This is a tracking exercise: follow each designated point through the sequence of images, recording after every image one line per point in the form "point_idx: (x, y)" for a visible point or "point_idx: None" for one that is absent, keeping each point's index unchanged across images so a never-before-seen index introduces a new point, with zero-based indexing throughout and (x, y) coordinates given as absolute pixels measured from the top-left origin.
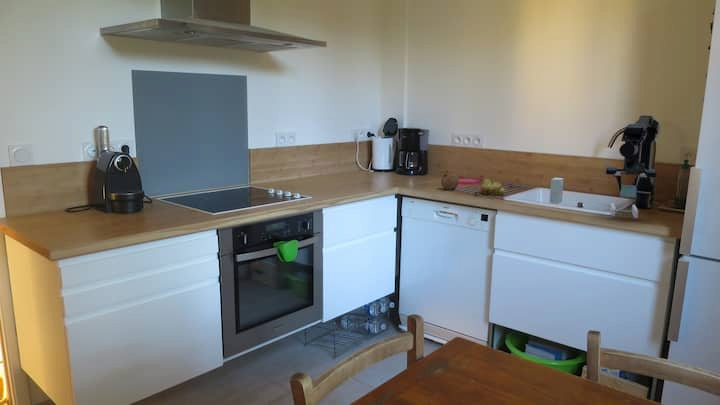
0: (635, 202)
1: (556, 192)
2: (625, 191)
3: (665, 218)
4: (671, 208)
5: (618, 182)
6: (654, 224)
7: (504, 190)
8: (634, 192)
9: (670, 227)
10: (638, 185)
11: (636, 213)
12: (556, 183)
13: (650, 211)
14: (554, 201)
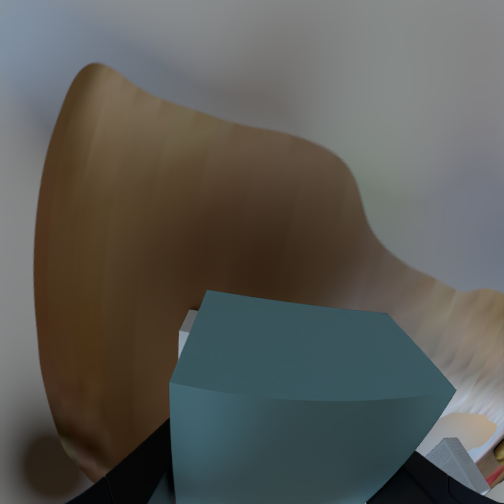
0: (175, 497)
1: (464, 462)
2: (370, 350)
3: (67, 336)
4: (78, 461)
5: (461, 486)
6: (125, 163)
7: (501, 452)
8: (219, 331)
9: (72, 123)
10: (128, 482)
11: (191, 325)
12: (478, 483)
13: (125, 440)
14: (453, 442)
